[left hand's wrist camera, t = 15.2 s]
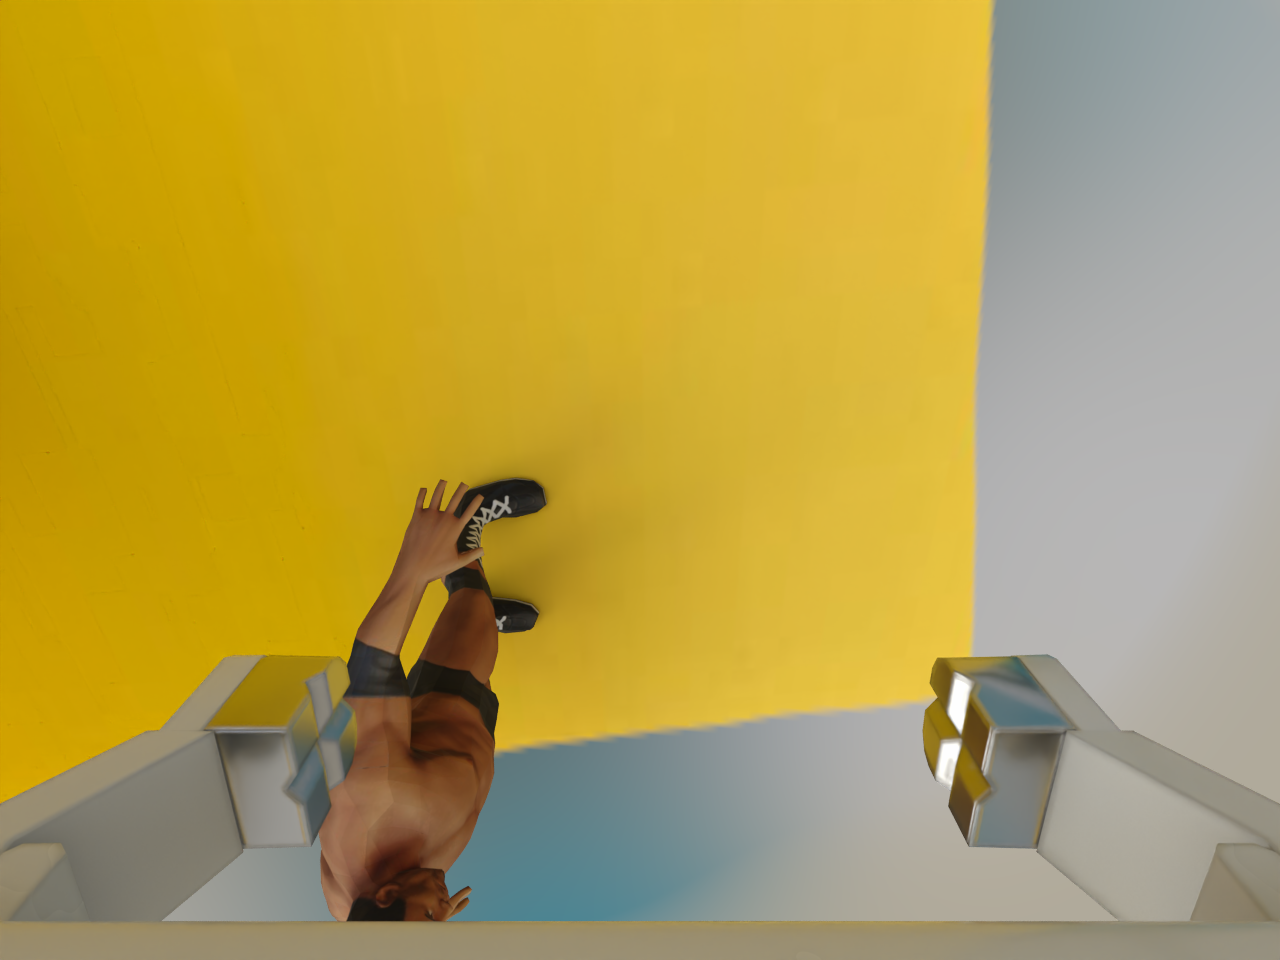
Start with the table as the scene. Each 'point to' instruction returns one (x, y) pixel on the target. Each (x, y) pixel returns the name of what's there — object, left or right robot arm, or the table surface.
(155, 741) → the left robot arm
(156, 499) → the table surface
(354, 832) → the figurine
